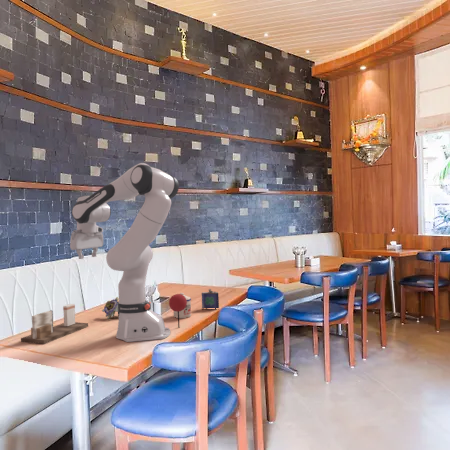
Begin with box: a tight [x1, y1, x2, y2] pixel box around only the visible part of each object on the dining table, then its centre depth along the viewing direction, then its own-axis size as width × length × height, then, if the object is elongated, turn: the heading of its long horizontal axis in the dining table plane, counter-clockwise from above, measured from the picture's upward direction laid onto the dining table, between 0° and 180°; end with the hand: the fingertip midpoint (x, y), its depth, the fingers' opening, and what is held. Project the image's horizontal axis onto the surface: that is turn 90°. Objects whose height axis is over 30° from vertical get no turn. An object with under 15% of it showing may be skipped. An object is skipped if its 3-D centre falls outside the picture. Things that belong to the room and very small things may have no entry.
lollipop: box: [168, 293, 187, 328], centre depth 179 cm, size 8×8×15 cm
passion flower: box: [101, 296, 119, 320], centre depth 203 cm, size 11×11×12 cm
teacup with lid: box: [173, 292, 192, 319], centre depth 201 cm, size 12×9×12 cm
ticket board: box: [20, 309, 89, 345], centre depth 176 cm, size 27×12×11 cm, turn 160°
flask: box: [201, 288, 220, 309], centre depth 214 cm, size 9×3×11 cm, turn 79°
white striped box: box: [62, 303, 76, 326], centre depth 184 cm, size 5×2×9 cm, turn 160°
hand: (87, 257), depth 195 cm, fingers open, 8 cm apart
